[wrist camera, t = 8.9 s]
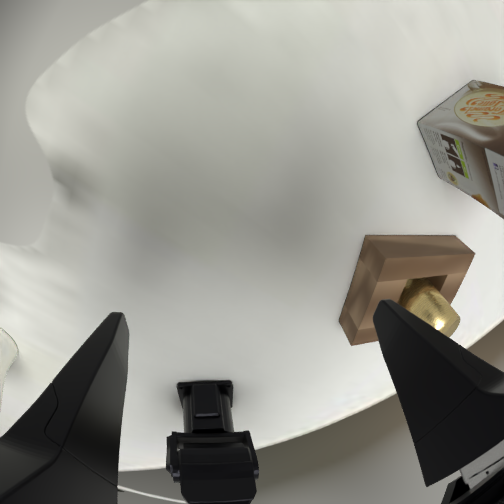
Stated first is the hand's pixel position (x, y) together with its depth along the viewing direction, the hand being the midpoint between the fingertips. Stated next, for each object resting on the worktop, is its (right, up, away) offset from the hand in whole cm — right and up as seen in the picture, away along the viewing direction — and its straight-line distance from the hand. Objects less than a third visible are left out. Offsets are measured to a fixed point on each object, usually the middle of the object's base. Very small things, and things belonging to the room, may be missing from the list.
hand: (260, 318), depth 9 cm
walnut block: (+15, 0, +18) cm, 23 cm away
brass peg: (+15, 0, +18) cm, 23 cm away
